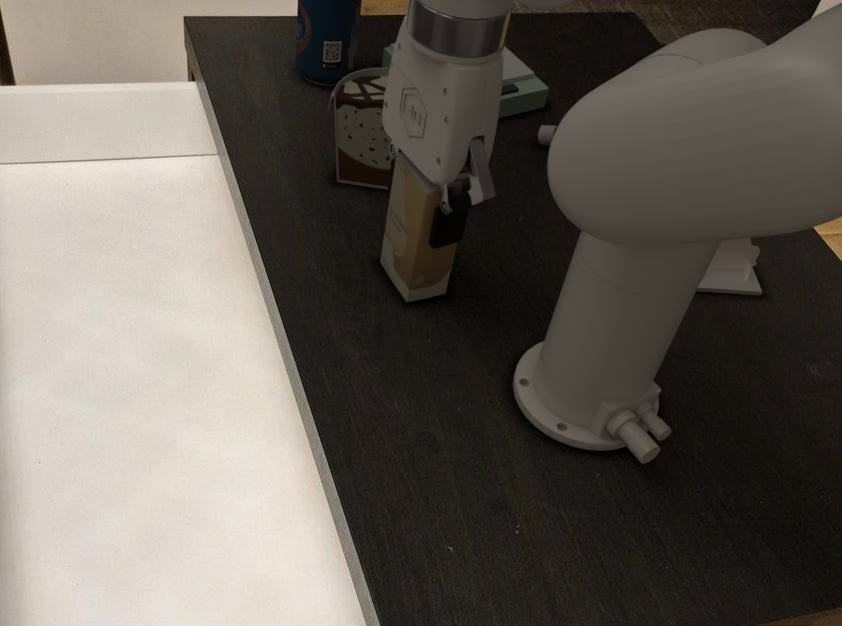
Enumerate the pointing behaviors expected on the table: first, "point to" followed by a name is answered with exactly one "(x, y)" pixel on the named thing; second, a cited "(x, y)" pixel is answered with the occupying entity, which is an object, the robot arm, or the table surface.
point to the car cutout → (732, 269)
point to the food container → (361, 129)
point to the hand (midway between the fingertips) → (423, 217)
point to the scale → (508, 84)
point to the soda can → (327, 39)
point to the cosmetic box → (415, 234)
